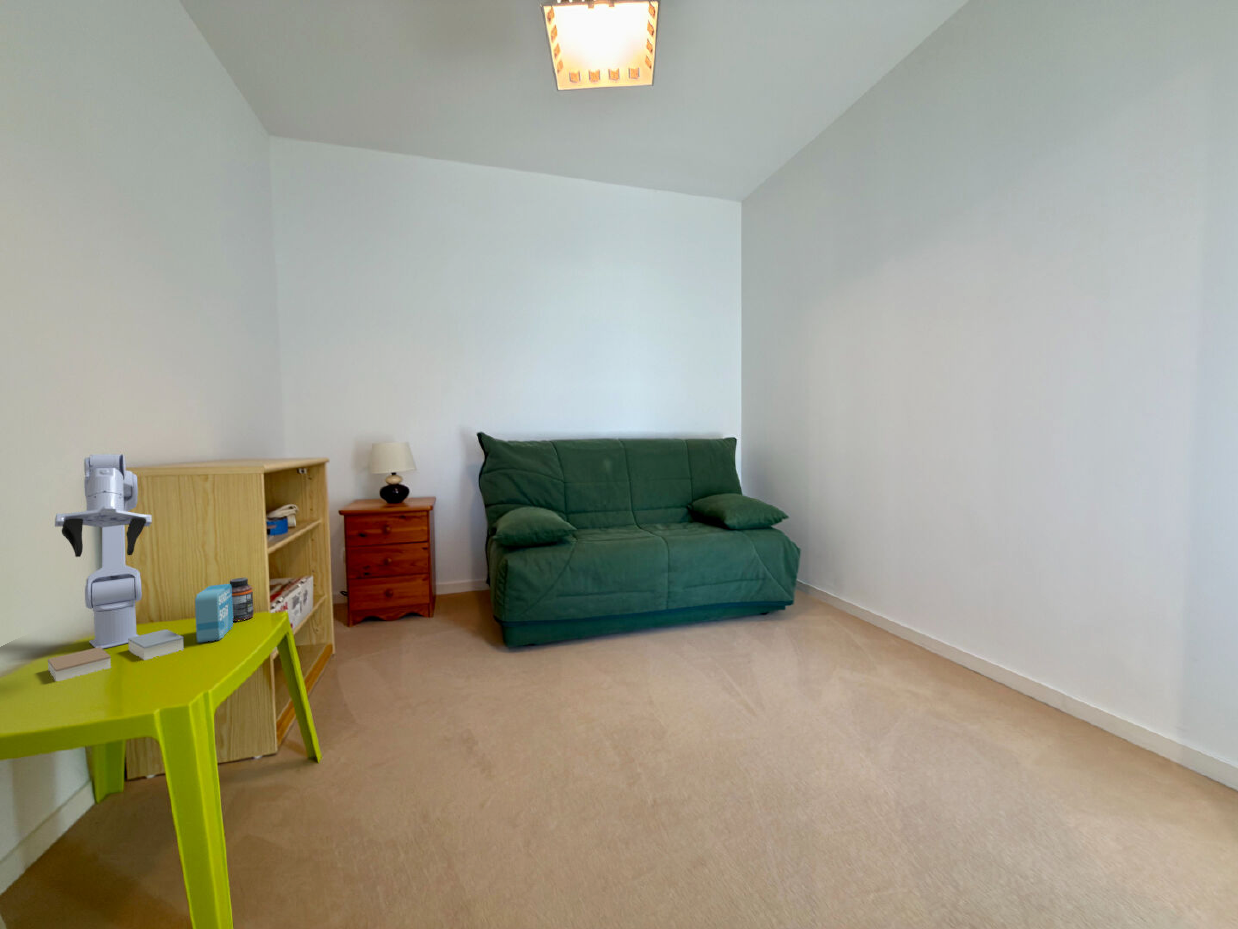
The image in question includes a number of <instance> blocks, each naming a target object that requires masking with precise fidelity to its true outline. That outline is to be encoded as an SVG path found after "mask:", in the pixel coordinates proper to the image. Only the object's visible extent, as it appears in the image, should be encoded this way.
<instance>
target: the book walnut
mask: <svg viewBox="0 0 1238 929" xmlns="http://www.w3.org/2000/svg"><path fill="white" fill-rule="evenodd" d="M111 658H112V656H111V655H110V654H109V653H107V651H105V650H104V649H102V648H101V647H98V648H95V647H94V648H90V649H86V650H82V651H81V650H80V651H76V652H72V653H69V654H64V655H59V656H56V657H51V658H48V659H47V663H48V664H47V667H48V672H49V671H50V673H51V674H50V673H49V674H50V676H51V677H52V676H53V677H54V678H53V677H52V678H53V680H54V681H55V682H56V681H58V682H61V681H64V680H68V678H69V679H72V678H76V677H75V676H77V677H81V676H84V675H88V673H89V674H92V673H96V672H99V670H100V671H103V670H102V669H104V670H108V669H111V668H112V666H111ZM95 671H96V672H95ZM91 672H92V673H91ZM80 675H81V676H80Z"/></svg>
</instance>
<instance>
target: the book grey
mask: <svg viewBox="0 0 1238 929" xmlns="http://www.w3.org/2000/svg"><path fill="white" fill-rule="evenodd" d="M128 640H129V643H128V652H129V651H130V652H129V653H131V654H133V655H135V657H136V656H137V657H138V656H139V658H140V659H142V660H144V661H147V660H150V659H151V660H152V659H154V658H153V657H155V658H157V657H156V656H159V657H163V656H165V655H170V654H173V652H174V653H177V652H179V650H181V651H184V650H185V649H184V636H182V635H180V634H177V633H175V632H174V631H171V630H169V629H162V630H161V629H160V630H158V631H153V632H150V633H145V634H141V635H139V636H136V637H132V638H128Z"/></svg>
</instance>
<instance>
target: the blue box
mask: <svg viewBox="0 0 1238 929" xmlns="http://www.w3.org/2000/svg"><path fill="white" fill-rule="evenodd" d="M194 601H195V602H194V607H195V608H194V609H195V627H196V628H195V631H196V632H195V633H196V641H197V643H207V642H208V641H209V642H215V640H216V641H221V640H222V639H223V638H224V637H225V636H226V635H227V634H228V633H229V632H230V631H229V630H232V628H233V626H234V625H233V624H234V622H233V607H232V587H231V584H230V583H224V584H223V583H222V584H214V585H209V586H207V587H205V589H203V590H202V591H200V592H199V593H197V594H196V596H195V599H194ZM231 627H232V628H231ZM228 631H229V632H228ZM227 632H228V633H227ZM226 633H227V634H226ZM225 634H226V635H225ZM224 635H225V636H224ZM221 638H222V639H221ZM220 639H221V640H220Z"/></svg>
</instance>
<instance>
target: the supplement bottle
mask: <svg viewBox="0 0 1238 929" xmlns="http://www.w3.org/2000/svg"><path fill="white" fill-rule="evenodd" d="M229 584H231V587H232V607H233V621H238V620H244V619H248V620H250V619H251V617H252V618H254V599H253V598H254V597H253V594H254V593H253V587H252V585H250V584H249V582H248V578H247V577H237V578H233V579H230V580H229ZM249 618H250V619H249Z"/></svg>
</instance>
